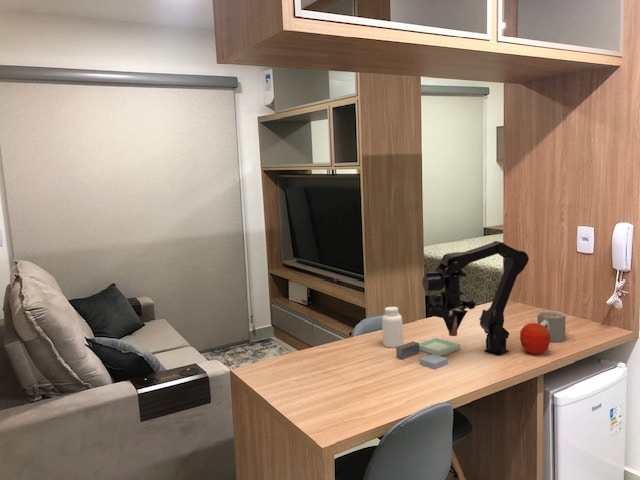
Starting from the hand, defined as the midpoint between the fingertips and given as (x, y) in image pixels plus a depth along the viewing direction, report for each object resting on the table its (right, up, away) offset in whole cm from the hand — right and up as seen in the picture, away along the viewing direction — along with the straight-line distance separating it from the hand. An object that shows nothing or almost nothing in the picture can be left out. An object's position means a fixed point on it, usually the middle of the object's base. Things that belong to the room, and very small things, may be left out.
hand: (453, 330), depth 193 cm
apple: (+30, -8, +2) cm, 32 cm away
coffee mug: (+41, -6, +14) cm, 44 cm away
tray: (-3, -9, +10) cm, 14 cm away
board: (-8, -12, -4) cm, 15 cm away
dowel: (0, -2, 0) cm, 2 cm away
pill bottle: (-19, -9, +18) cm, 28 cm away
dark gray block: (-15, -10, +6) cm, 19 cm away
